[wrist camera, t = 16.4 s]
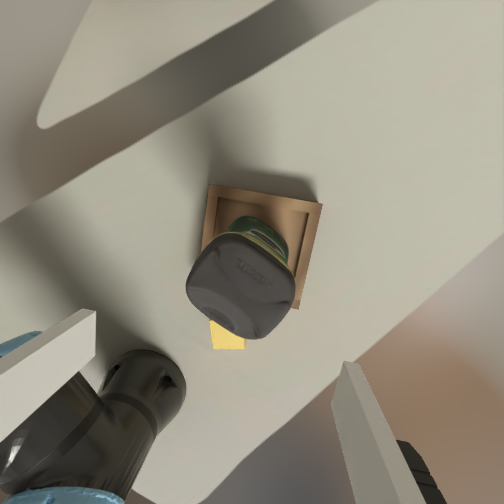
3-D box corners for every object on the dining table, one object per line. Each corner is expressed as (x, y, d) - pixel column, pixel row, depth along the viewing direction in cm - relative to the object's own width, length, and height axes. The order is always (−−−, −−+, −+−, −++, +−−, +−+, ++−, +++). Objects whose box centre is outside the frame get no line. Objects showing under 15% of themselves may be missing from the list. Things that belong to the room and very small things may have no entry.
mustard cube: (220, 332, 46) (213, 349, 41) (216, 306, 45) (209, 320, 40) (248, 331, 45) (244, 348, 41) (245, 305, 44) (241, 319, 40)
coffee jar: (213, 248, 39) (160, 298, 21) (244, 206, 37) (214, 221, 19) (264, 286, 40) (255, 365, 22) (297, 246, 38) (316, 296, 20)
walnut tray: (202, 281, 44) (196, 289, 40) (215, 184, 40) (209, 184, 36) (296, 299, 43) (298, 309, 39) (318, 202, 39) (322, 204, 36)
